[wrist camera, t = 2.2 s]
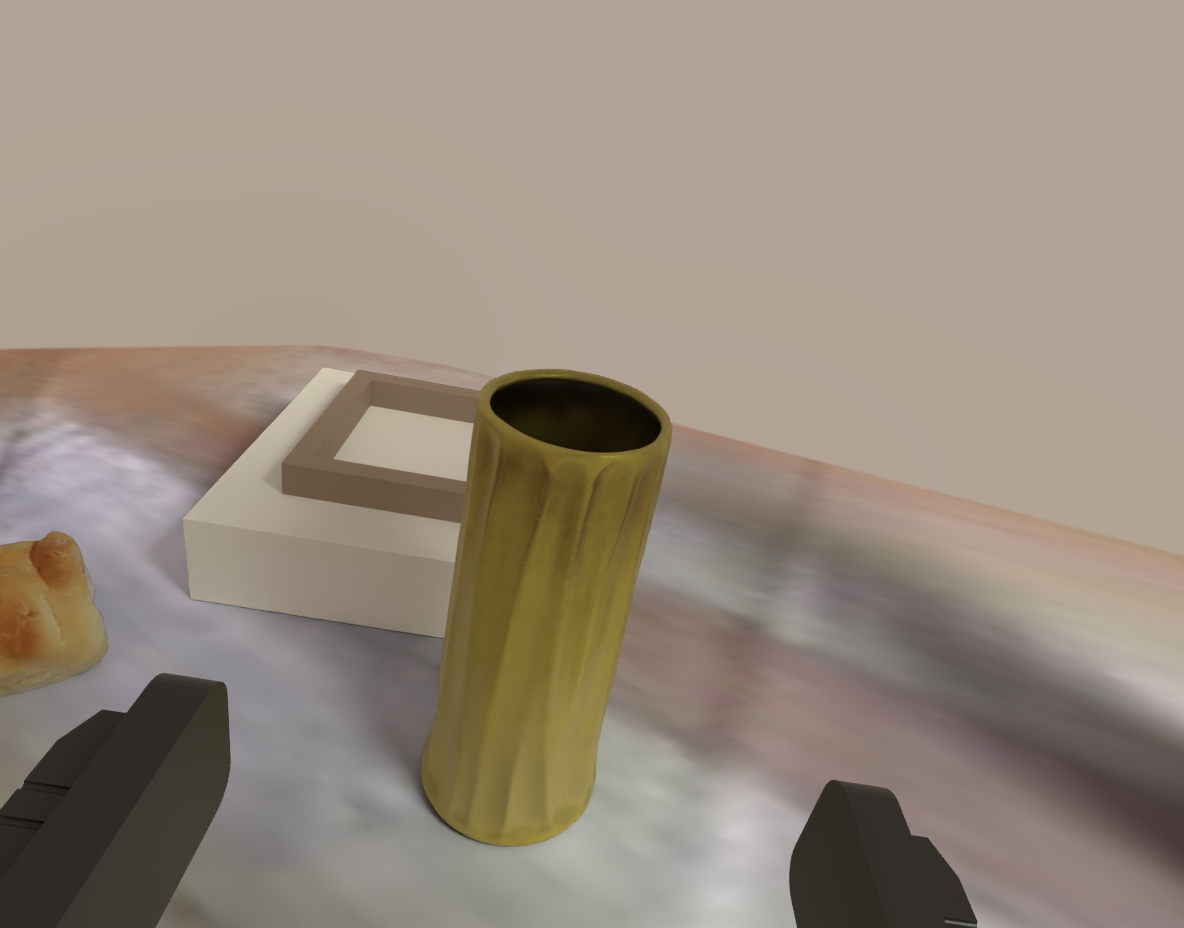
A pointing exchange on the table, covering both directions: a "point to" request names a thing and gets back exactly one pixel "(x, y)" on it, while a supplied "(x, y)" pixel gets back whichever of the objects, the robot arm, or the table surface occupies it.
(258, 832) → the table surface
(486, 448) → the vase
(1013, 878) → the table surface
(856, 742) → the table surface
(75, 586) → the pastry
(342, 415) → the display stand
